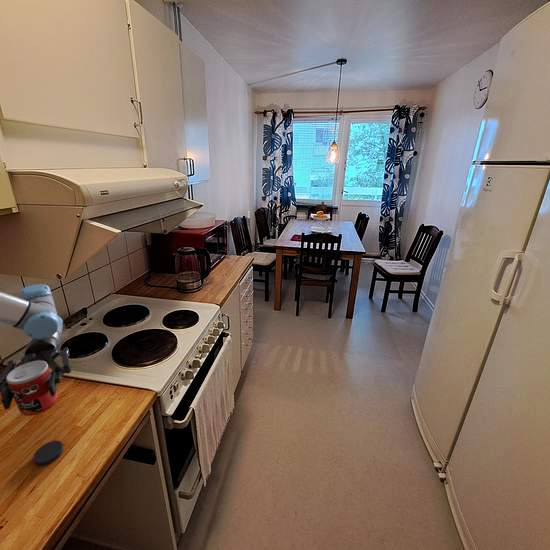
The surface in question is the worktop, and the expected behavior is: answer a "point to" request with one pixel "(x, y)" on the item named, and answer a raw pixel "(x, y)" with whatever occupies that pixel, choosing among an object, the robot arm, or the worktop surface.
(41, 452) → the pad
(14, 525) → the worktop surface
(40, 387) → the canned food
